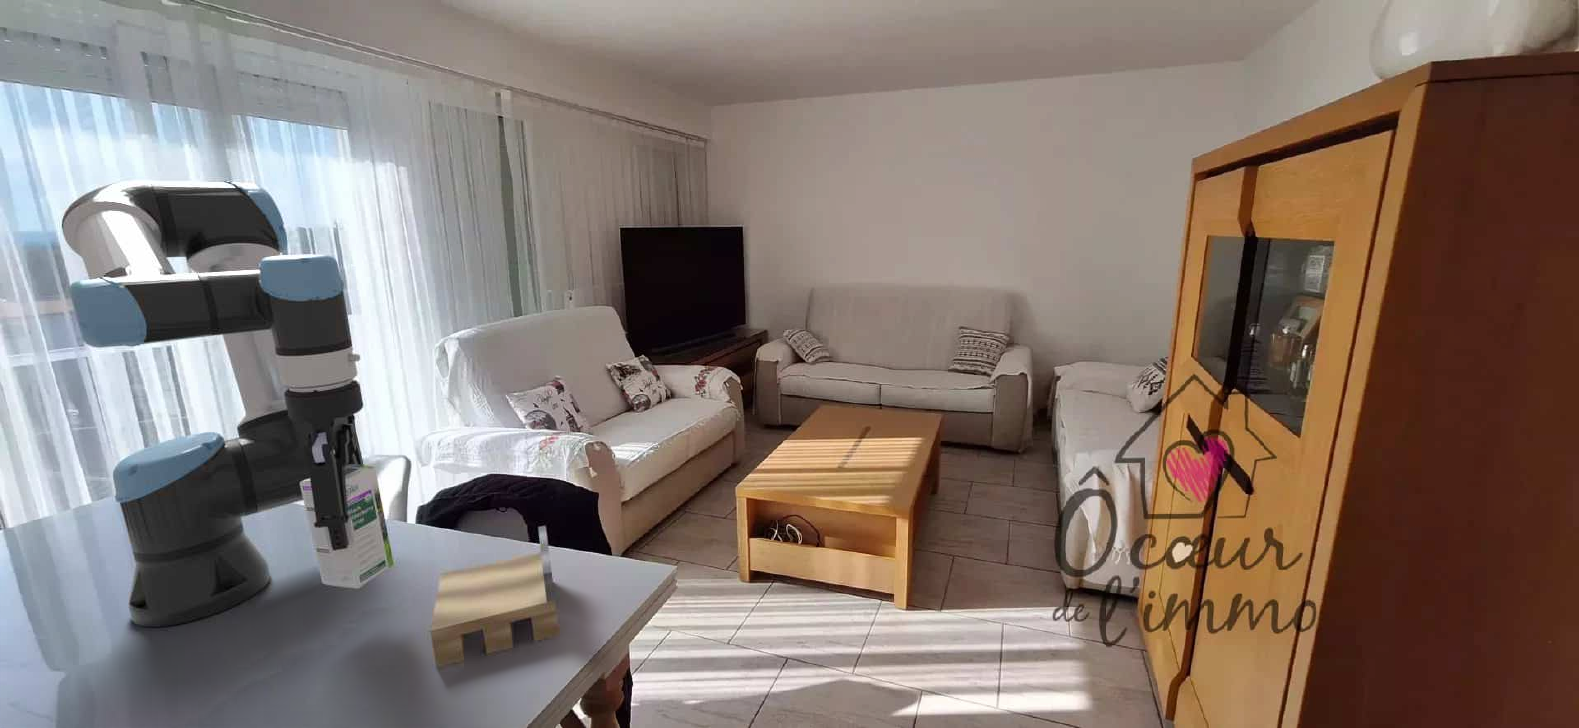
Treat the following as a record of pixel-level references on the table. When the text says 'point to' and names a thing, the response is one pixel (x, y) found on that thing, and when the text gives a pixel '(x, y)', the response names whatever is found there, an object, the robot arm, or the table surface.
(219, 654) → the table surface
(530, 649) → the table surface
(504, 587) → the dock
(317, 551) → the syrup box
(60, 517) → the table surface
